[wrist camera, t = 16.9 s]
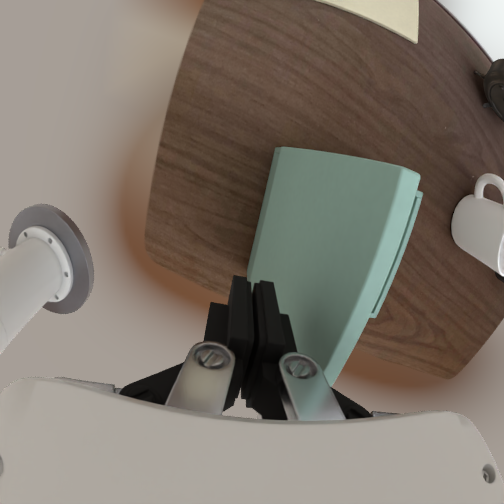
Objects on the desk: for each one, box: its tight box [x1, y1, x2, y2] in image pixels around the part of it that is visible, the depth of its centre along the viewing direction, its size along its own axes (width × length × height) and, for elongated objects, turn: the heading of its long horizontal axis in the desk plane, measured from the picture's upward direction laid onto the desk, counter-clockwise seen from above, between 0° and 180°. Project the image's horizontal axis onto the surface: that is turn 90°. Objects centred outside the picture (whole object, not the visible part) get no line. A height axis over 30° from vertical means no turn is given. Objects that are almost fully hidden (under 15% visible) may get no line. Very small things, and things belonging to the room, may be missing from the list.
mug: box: [451, 173, 504, 277], centre depth 25 cm, size 12×8×10 cm
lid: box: [250, 147, 420, 387], centre depth 16 cm, size 15×14×1 cm
